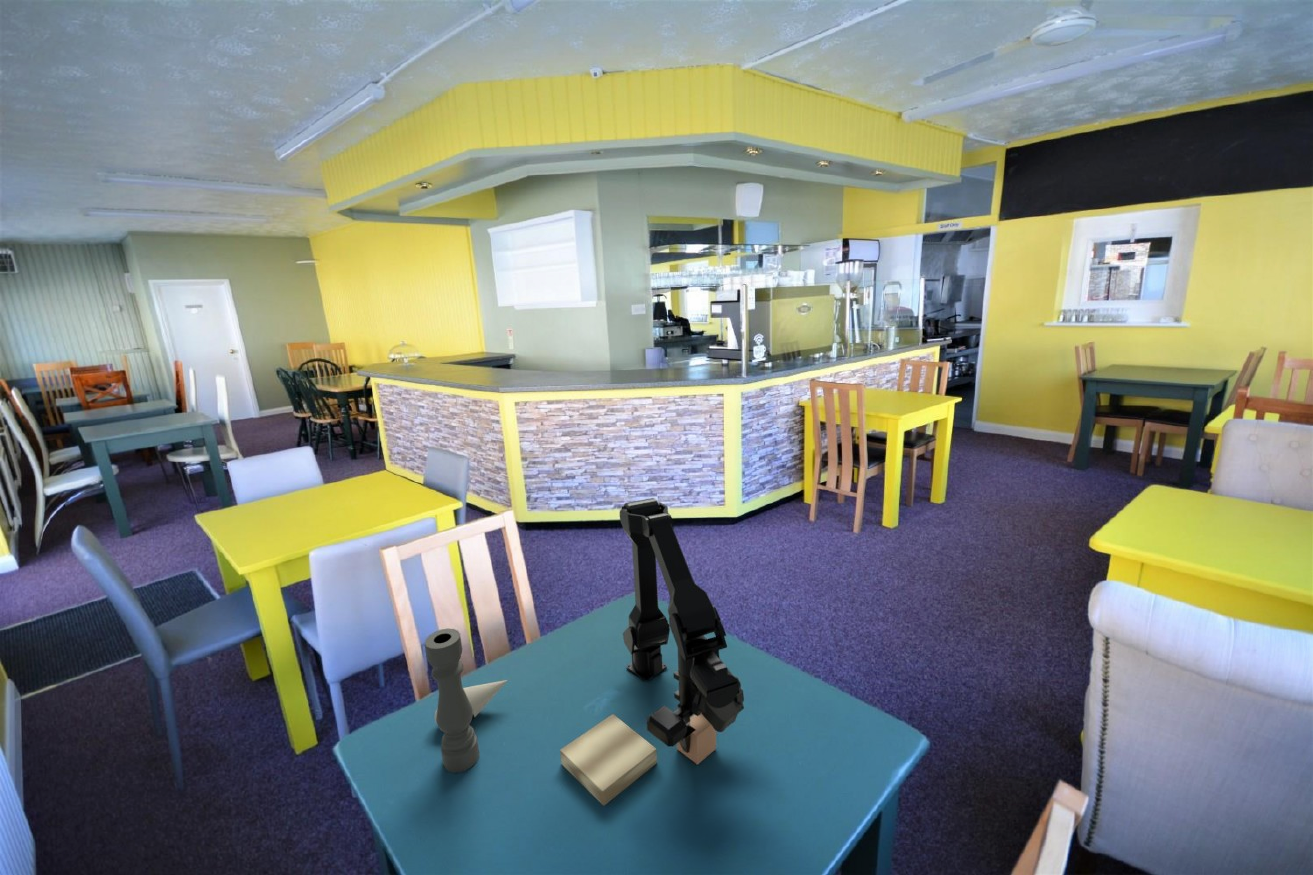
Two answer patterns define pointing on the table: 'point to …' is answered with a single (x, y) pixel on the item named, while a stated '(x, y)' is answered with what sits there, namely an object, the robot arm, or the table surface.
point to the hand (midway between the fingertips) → (696, 742)
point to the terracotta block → (700, 739)
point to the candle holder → (452, 701)
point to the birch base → (608, 758)
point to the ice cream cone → (481, 695)
